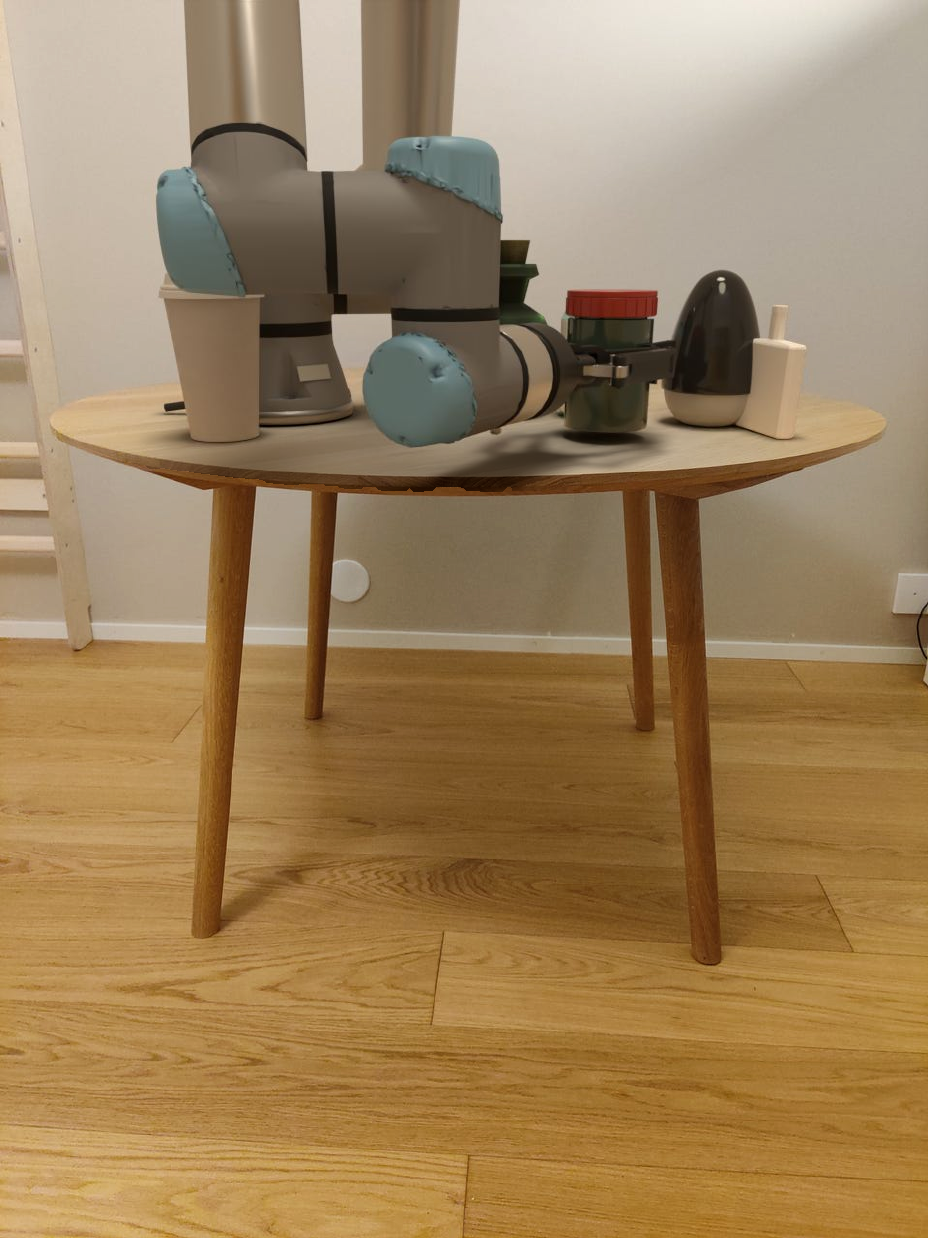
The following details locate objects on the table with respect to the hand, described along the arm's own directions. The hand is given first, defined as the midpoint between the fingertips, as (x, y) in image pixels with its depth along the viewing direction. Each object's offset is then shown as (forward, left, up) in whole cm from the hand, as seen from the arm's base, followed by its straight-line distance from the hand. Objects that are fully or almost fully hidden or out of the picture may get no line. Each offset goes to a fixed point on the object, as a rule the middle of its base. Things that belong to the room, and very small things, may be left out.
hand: (628, 352), depth 91 cm
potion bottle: (-14, +3, -8) cm, 17 cm away
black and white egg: (+6, +8, -8) cm, 13 cm away
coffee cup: (-33, -22, -8) cm, 41 cm away
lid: (0, -5, +5) cm, 7 cm away
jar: (0, -5, -6) cm, 8 cm away
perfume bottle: (+13, +5, -8) cm, 16 cm away
